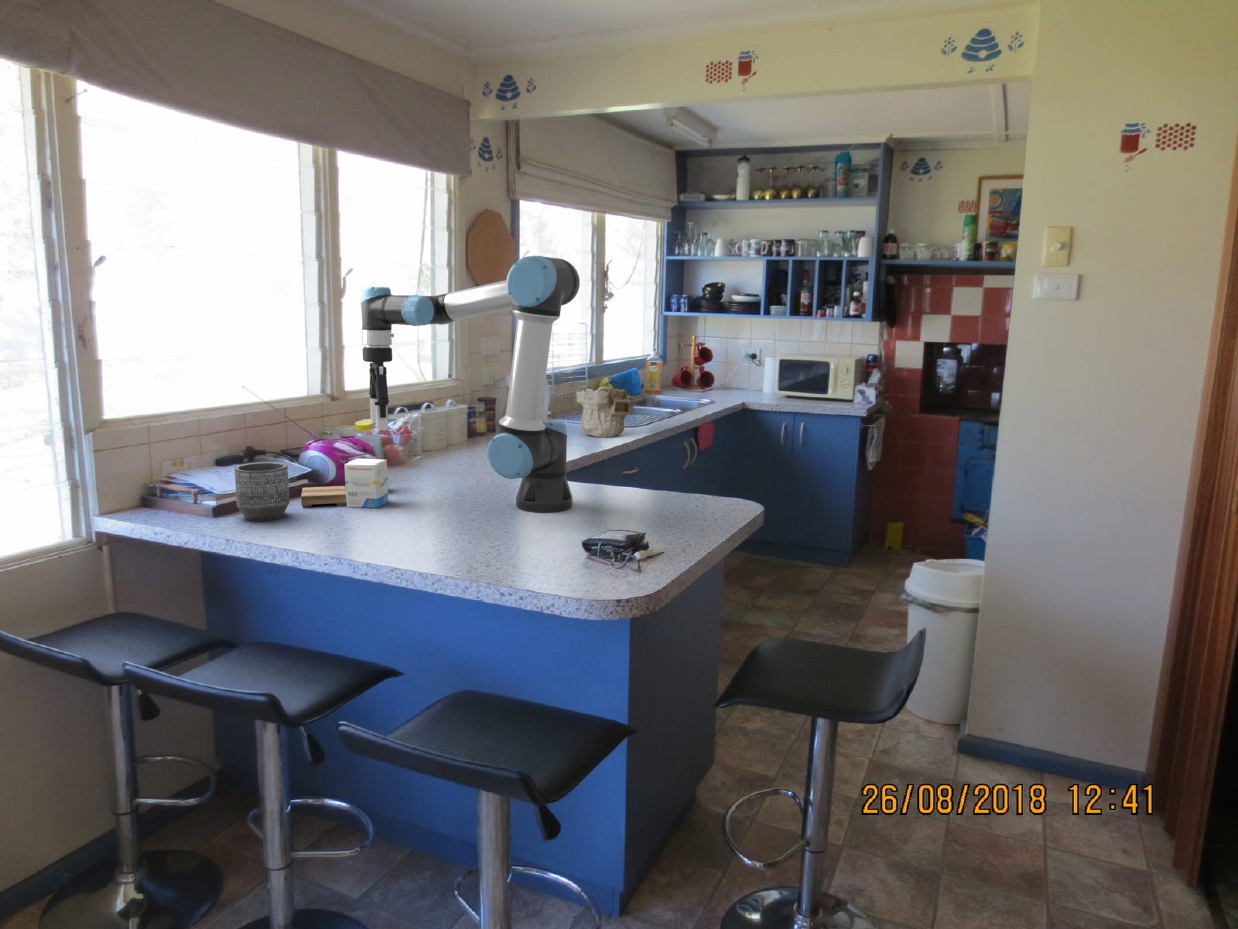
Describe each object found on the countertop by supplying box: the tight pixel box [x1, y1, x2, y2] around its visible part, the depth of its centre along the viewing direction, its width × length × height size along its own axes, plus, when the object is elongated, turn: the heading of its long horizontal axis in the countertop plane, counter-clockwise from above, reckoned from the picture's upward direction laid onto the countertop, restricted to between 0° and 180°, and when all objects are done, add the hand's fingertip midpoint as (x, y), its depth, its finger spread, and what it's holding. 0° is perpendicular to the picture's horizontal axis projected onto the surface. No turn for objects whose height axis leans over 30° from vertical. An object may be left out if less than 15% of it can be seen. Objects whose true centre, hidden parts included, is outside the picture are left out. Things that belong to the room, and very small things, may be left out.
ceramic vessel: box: [576, 385, 636, 439], centre depth 353 cm, size 23×24×25 cm
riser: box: [300, 485, 347, 508], centre depth 230 cm, size 11×11×3 cm
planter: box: [234, 461, 290, 522], centre depth 213 cm, size 12×12×13 cm
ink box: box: [344, 458, 389, 509], centre depth 228 cm, size 9×8×12 cm
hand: (379, 426), depth 231 cm, fingers open, 13 cm apart
